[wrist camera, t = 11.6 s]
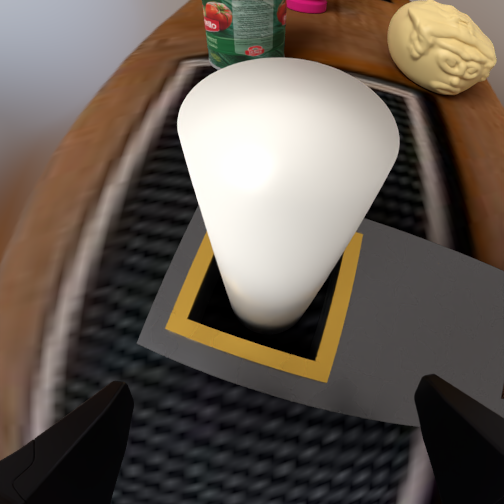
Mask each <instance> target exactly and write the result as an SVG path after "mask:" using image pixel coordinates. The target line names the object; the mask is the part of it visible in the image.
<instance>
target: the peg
mask: <svg viewBox="0 0 504 504" xmlns="http://www.w3.org/2000/svg"><path fill="white" fill-rule="evenodd" d="M177 124H178V134H179V138H180V142H181V145H182V149H183V152H184V156H185V159H186V163H187V166H188V170H189V173H190V176H191V180H192V183H193V187H194V190H195V193H196V197H197V200H198V203H199V207H200V210H201V213H202V216H203V220H204V223H205V226H206V229H207V233H208V236H209V239H210V242H211V245H212V248H213V252H214V255H215V258H216V261H217V264H218V267H219V270H220V273H221V276H222V279H223V282H224V285H225V288H226V292H227V295H228V297H229V300H230V303H231V306H232V309H233V312H234V314H235V316H236V317H237V319H238V320H239V321H240V323H241V324H243V325H244V326H245V327H246V328H248V329H249V330H251V331H253V332H256V333H259V334H266V335H271V334H278V333H282V332H284V331H286V330H288V329H290V328H291V327H293V326H294V325H295V324H296V323H297V322H298V321H299V320H300V318H301V317H302V315H303V314H304V312H305V311H306V309H307V308H308V307H309V305H310V304H311V302H312V301H313V299H314V298H315V296H316V294H317V293H318V291H319V290H320V288H321V287H322V285H323V284H324V282H325V281H326V279H327V278H328V276H329V274H330V273H331V271H332V270H333V268H334V267H335V265H336V263H337V262H338V260H339V259H340V257H341V255H342V254H343V252H344V250H345V249H346V247H347V246H348V244H349V242H350V241H351V239H352V237H353V236H354V234H355V232H356V231H357V229H358V227H359V225H360V224H361V222H362V220H363V219H364V217H365V215H366V213H367V212H368V210H369V208H370V206H371V205H372V203H373V201H374V199H375V198H376V196H377V194H378V192H379V190H380V189H381V187H382V185H383V183H384V181H385V179H386V178H387V176H388V174H389V172H390V170H391V168H392V166H393V164H394V162H395V160H396V158H397V155H398V151H399V132H398V128H397V125H396V122H395V119H394V117H393V115H392V114H391V112H390V110H389V109H388V107H387V106H386V104H385V103H384V102H383V101H382V100H381V99H380V97H379V96H378V95H377V94H376V93H375V92H373V91H372V90H371V89H370V88H369V87H367V86H366V85H365V84H363V83H362V82H361V81H359V80H357V79H356V78H354V77H352V76H351V75H349V74H347V73H345V72H343V71H340V70H338V69H335V68H333V67H330V66H327V65H324V64H321V63H317V62H313V61H308V60H302V59H296V58H260V59H254V60H248V61H244V62H239V63H236V64H233V65H230V66H227V67H225V68H223V69H220V70H218V71H216V72H214V73H213V74H211V75H209V76H208V77H206V78H205V79H203V80H202V81H201V82H199V83H198V84H197V85H196V86H195V87H194V88H193V89H192V90H191V91H190V93H189V94H188V95H187V96H186V98H185V100H184V101H183V103H182V106H181V108H180V111H179V115H178V121H177Z"/></svg>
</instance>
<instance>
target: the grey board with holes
mask: <svg viewBox="0 0 504 504" xmlns="http://www.w3.org/2000/svg"><path fill="white" fill-rule="evenodd" d="M219 276H220V270H219V267H218V264H217V261H216V258H215V255H214V252H213V248H212V245H211V242H210V239H209V236H208V233H207V229H206V226H205V223H204V220H203V216H202V213H201V210H200V207H199V205H198V207H197V209H196V211H195V213H194V215H193V218H192V220H191V222H190V224H189V226H188V228H187V230H186V232H185V234H184V236H183V238H182V240H181V243H180V245H179V247H178V249H177V251H176V253H175V255H174V258H173V260H172V262H171V264H170V266H169V269H168V271H167V273H166V275H165V278H164V280H163V282H162V284H161V287H160V289H159V291H158V294H157V296H156V298H155V300H154V303H153V305H152V308H151V310H150V312H149V315H148V317H147V320H146V322H145V324H144V327H143V329H142V332H141V334H140V337H139V339H138V342H137V344H139V345H141V346H143V347H145V348H148V349H150V350H152V351H154V352H157V353H159V354H161V355H163V356H166V357H168V358H170V359H173V360H175V361H177V362H180V363H182V364H185V365H187V366H190V367H192V368H195V369H197V370H200V371H202V372H205V373H208V374H210V375H213V376H216V377H218V378H221V379H224V380H227V381H229V382H232V383H235V384H238V385H241V386H244V387H247V388H250V389H253V390H256V391H259V392H263V393H266V394H269V395H272V396H276V397H279V398H282V399H286V400H289V401H293V402H297V403H300V404H304V405H308V406H312V407H316V408H320V409H324V410H328V411H333V412H337V413H341V414H346V415H351V416H356V417H361V418H366V419H371V420H377V421H383V422H389V423H395V424H402V425H409V426H417V427H420V422H419V418H418V413H417V409H416V405H415V401H414V394H415V391H416V389H417V387H418V385H419V382H420V380H421V378H422V377H423V376H424V375H429V374H436V375H437V376H439V377H441V378H442V379H444V380H445V381H447V382H448V383H450V384H451V385H453V386H455V387H456V388H458V389H459V390H461V391H462V392H464V393H465V394H467V395H469V396H470V397H472V398H473V399H475V400H476V401H478V402H479V403H481V404H483V405H484V406H486V407H487V408H489V409H490V410H492V411H494V412H495V413H497V414H498V415H500V416H501V417H503V418H504V399H501V395H502V390H503V384H504V271H502V270H500V269H498V268H495V267H493V266H491V265H488V264H486V263H484V262H481V261H479V260H476V259H474V258H472V257H469V256H467V255H464V254H462V253H459V252H457V251H454V250H452V249H449V248H446V247H444V246H441V245H439V244H436V243H433V242H431V241H428V240H425V239H423V238H420V237H417V236H414V235H412V234H409V233H406V232H403V231H400V230H398V229H395V228H392V227H389V226H386V225H383V224H380V223H377V222H374V221H371V220H368V219H365V218H364V219H363V220H362V222H361V224H360V225H359V227H358V229H357V231H356V232H355V234H354V236H353V237H352V239H351V241H350V242H349V244H348V246H347V247H346V249H345V250H344V252H343V254H342V255H341V257H340V259H339V260H338V262H337V263H336V265H335V267H334V268H333V270H332V272H331V276H330V280H329V284H328V288H327V292H326V295H325V299H324V303H323V307H322V310H321V314H320V317H319V321H318V324H317V328H316V331H315V335H314V338H313V341H312V345H311V348H310V351H309V355H308V358H307V359H305V358H302V357H299V356H295V355H292V354H289V353H285V352H282V351H279V350H275V349H272V348H269V347H266V346H263V345H260V344H257V343H254V342H251V341H248V340H245V339H242V338H239V337H236V336H233V335H230V334H227V333H224V332H221V331H219V330H216V329H213V328H210V327H208V326H205V325H202V324H201V321H202V319H203V316H204V313H205V311H206V308H207V306H208V303H209V301H210V298H211V296H212V293H213V291H214V288H215V286H216V283H217V281H218V278H219Z"/></svg>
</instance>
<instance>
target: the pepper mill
mask: <svg viewBox="0 0 504 504" xmlns="http://www.w3.org/2000/svg"><path fill="white" fill-rule="evenodd" d="M286 2H287V7H288V8H289V9H292V10H294V11H298V12H304V13H323V12H325V11H326V6H327V1H326V0H286Z"/></svg>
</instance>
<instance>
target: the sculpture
mask: <svg viewBox="0 0 504 504" xmlns="http://www.w3.org/2000/svg"><path fill="white" fill-rule="evenodd" d="M388 47H389V51H390V54H391V57H392V59H393V61H394V62H395V64H396V65H397V67H398V68H399V69H400V70H401V71H402V72H403V73H404V74H405V75H406V76H407V77H408V78H409V79H410V80H412V81H413V82H415V83H416V84H418V85H420V86H421V87H423V88H425V89H428V90H430V91H433V92H435V93H439V94H444V95H456V94H458V93H460V92H463V91H465V90H467V89H468V88H470V87H472V86H473V85H474V84H476V83H477V82H480V81H485V80H486V78H487V77H488V76H489V74H490V73H489V72H490V70H491V69H492V68H493V67H494V65H495V64H496V60H497V59H496V55H495V50H494V46H493V44H492V42H491V41H490V40H489V38H488V37H486V36H485V35H484V34H483V32H482V31H481V30H480V28H479V27H478V26H477V25H476V24H475V23H474V22H473V21H472V20H471V18H470V17H469V16H468V15H467V14H464V13H461V12H460V11H458V10H457V9H456V8H455V7H453V6H451V5H443V4H440V3H437V2H435V1H433V0H427V1H414V2H410V3H408V4H406V5H404V6H402V7H401V8H400V9H399V10H398V11H397V12H396V13H395V14H394V16H393V17H392V19H391V22H390V24H389V28H388Z"/></svg>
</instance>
